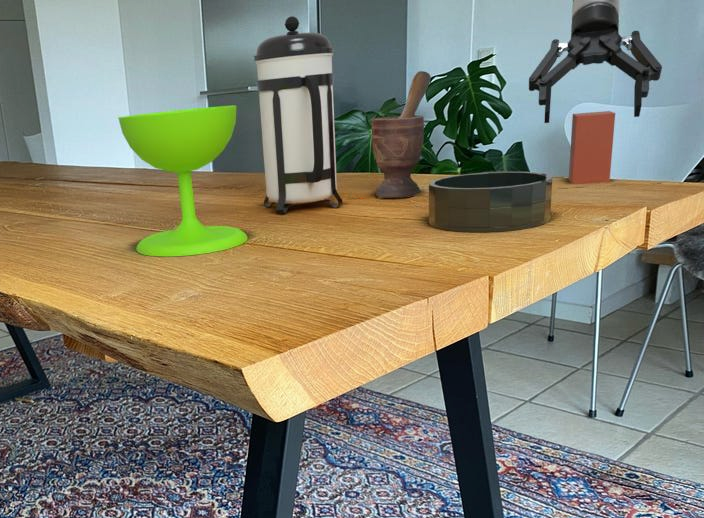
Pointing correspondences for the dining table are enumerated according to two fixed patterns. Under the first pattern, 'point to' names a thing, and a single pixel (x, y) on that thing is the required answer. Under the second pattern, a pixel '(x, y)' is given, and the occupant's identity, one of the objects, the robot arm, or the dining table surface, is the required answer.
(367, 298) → the dining table surface
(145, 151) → the wineglass
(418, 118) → the mortar and pestle
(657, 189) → the dining table surface
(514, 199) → the bowl
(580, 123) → the block
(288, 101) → the coffee press
